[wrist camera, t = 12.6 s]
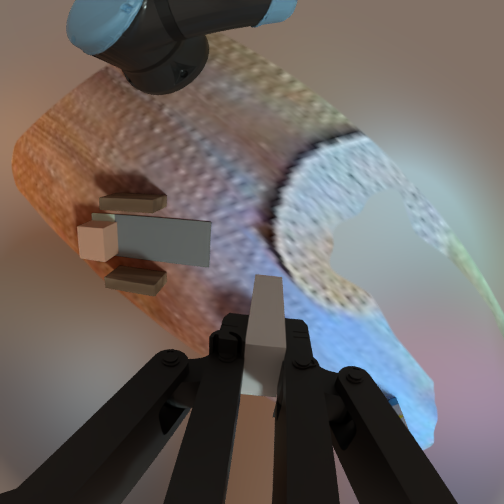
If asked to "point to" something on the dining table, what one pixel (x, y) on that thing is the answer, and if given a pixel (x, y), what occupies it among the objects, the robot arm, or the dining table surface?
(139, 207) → the tunnel walls
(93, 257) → the terracotta block
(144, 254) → the mat
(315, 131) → the dining table surface
